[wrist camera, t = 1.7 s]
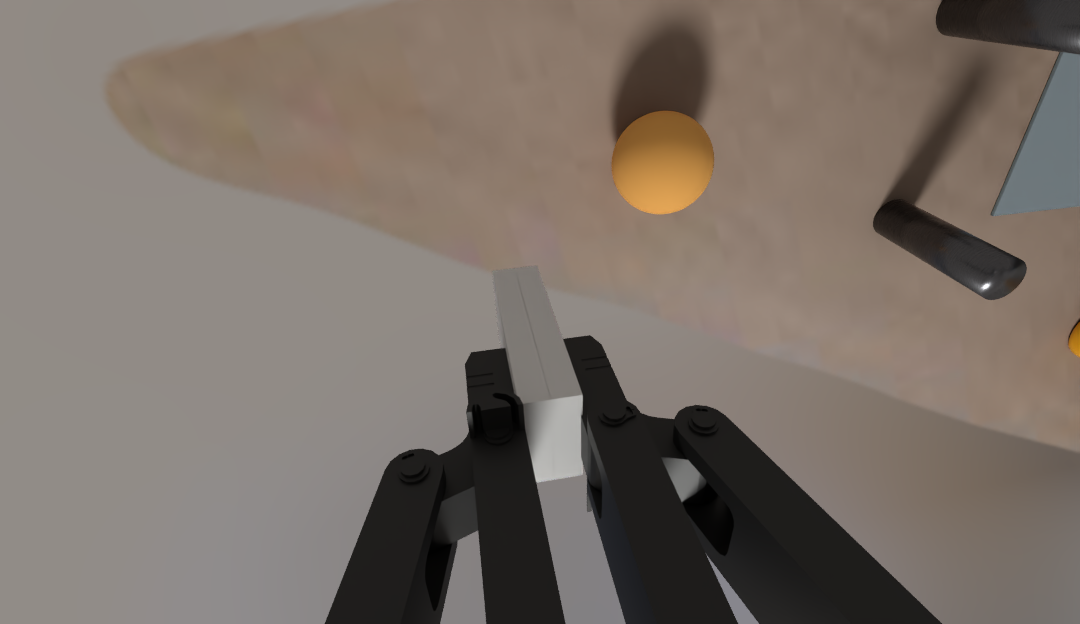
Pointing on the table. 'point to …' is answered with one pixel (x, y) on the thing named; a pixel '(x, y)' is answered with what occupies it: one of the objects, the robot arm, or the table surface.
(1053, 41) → the post
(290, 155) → the table surface
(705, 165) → the ball
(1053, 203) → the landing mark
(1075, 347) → the cylinder
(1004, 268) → the post
